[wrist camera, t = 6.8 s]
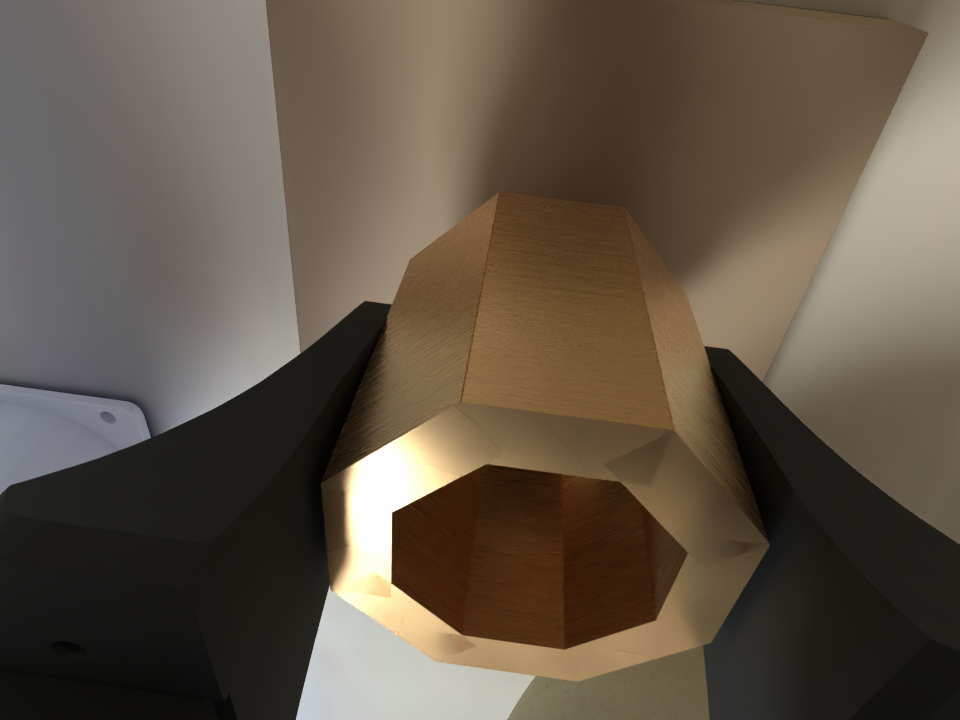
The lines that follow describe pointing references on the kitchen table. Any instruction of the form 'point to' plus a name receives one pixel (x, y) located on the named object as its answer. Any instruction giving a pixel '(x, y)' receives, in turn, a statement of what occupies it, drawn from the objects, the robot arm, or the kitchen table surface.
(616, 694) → the planter bowl
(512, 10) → the pin block
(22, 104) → the kitchen table surface
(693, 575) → the octagonal wooden tube
